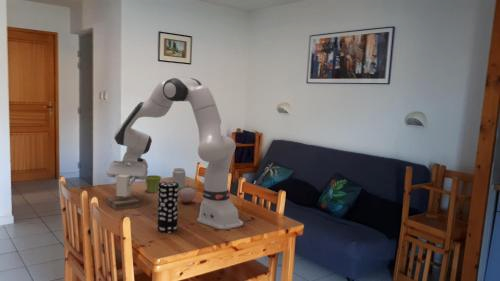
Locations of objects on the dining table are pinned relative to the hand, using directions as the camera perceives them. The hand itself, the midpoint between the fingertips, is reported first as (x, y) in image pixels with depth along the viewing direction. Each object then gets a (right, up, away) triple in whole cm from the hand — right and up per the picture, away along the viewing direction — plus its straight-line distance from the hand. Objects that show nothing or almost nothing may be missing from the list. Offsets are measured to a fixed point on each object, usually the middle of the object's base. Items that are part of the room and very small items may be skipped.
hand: (123, 184), depth 202 cm
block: (0, -5, +1) cm, 5 cm away
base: (-1, -11, +2) cm, 11 cm away
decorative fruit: (+30, -11, +12) cm, 34 cm away
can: (+20, -7, +43) cm, 48 cm away
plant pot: (+7, -8, +32) cm, 33 cm away
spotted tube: (+28, -16, -29) cm, 43 cm away
